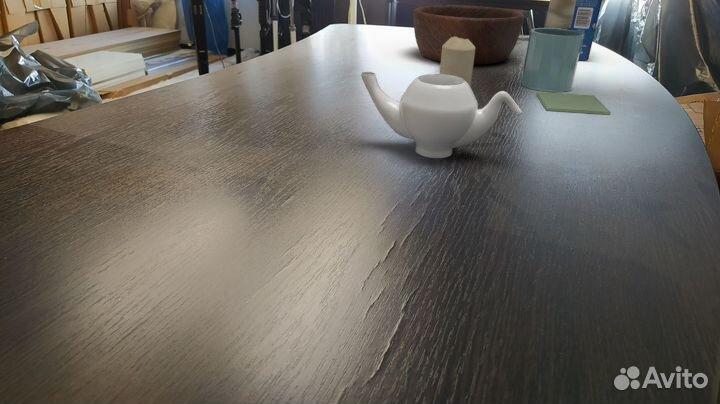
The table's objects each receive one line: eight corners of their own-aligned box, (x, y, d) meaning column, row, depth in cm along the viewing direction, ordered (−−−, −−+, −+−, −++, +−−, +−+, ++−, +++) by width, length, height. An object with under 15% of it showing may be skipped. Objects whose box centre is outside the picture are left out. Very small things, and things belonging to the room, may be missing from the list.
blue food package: (581, 52, 128) (605, -58, 117) (588, 61, 118) (616, -58, 106) (555, 50, 130) (577, -58, 118) (560, 59, 119) (585, -59, 108)
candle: (475, 97, 88) (483, 38, 83) (455, 102, 84) (462, 41, 80) (451, 90, 91) (457, 33, 87) (431, 95, 88) (436, 36, 83)
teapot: (512, 176, 58) (527, 98, 54) (349, 154, 63) (350, 80, 58) (514, 147, 66) (526, 78, 62) (369, 130, 71) (371, 64, 67)
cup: (565, 81, 100) (576, 29, 95) (576, 93, 92) (589, 37, 87) (518, 78, 101) (527, 27, 96) (525, 90, 93) (535, 34, 88)
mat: (593, 98, 89) (594, 95, 89) (610, 114, 81) (610, 111, 80) (536, 94, 90) (536, 91, 90) (546, 110, 82) (546, 107, 81)
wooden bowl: (508, 49, 129) (514, 6, 124) (526, 71, 107) (535, 20, 102) (411, 45, 131) (414, 3, 126) (409, 65, 109) (413, 16, 104)
